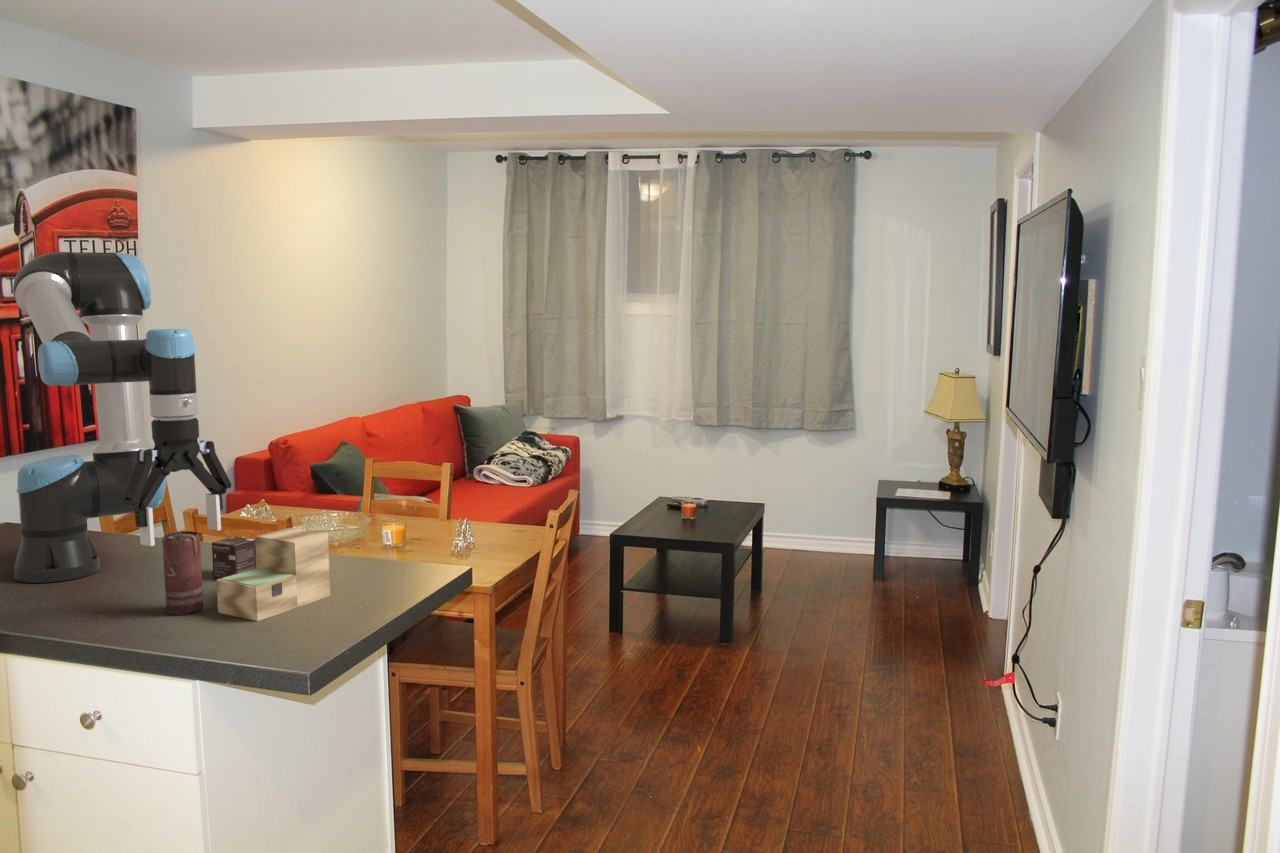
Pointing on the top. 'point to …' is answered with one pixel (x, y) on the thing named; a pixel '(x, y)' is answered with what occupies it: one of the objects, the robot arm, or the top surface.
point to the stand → (278, 576)
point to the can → (182, 573)
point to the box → (233, 556)
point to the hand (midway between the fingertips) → (182, 537)
